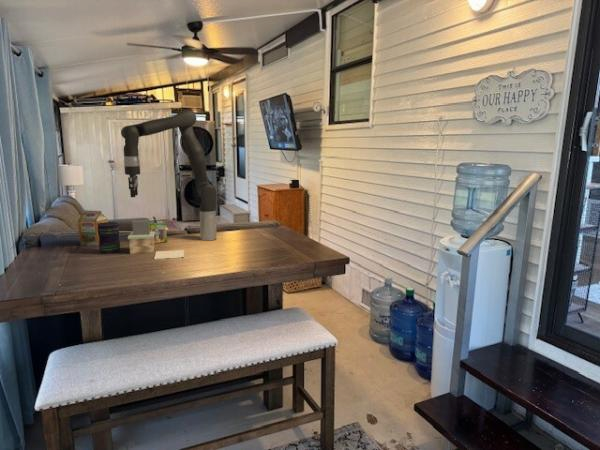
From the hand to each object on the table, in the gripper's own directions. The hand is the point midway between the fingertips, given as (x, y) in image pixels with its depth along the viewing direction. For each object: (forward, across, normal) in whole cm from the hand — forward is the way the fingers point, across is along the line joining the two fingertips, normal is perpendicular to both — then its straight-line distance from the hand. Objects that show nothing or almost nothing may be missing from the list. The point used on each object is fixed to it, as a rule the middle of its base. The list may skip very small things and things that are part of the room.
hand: (134, 196), depth 211 cm
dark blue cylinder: (+28, -6, +13) cm, 32 cm away
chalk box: (+29, +14, -8) cm, 33 cm away
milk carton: (+28, +14, +24) cm, 40 cm away
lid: (+20, -6, -3) cm, 21 cm away
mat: (+28, -18, -18) cm, 38 cm away
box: (+28, -7, -3) cm, 29 cm away
